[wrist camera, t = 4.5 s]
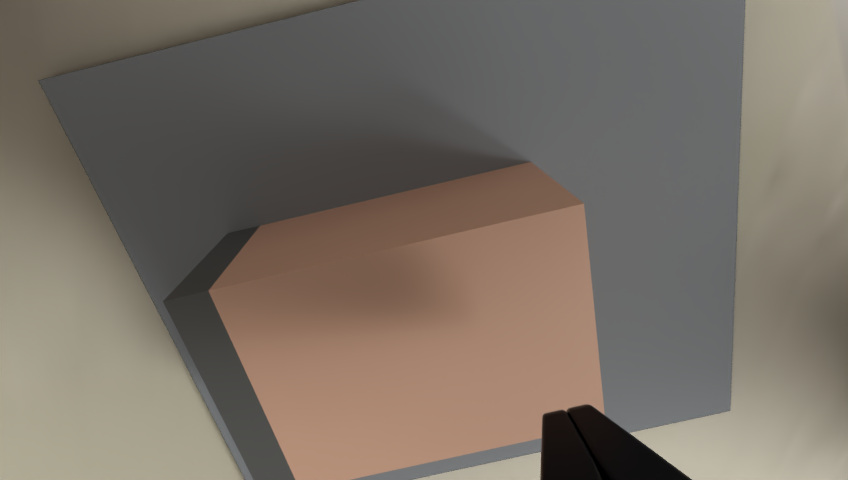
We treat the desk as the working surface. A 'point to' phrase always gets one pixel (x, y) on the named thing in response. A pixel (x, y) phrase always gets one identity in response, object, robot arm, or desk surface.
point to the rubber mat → (451, 156)
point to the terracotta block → (397, 326)
